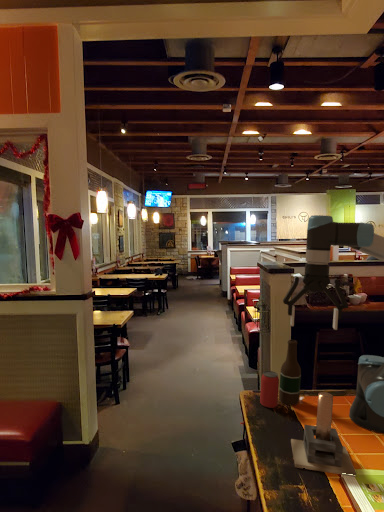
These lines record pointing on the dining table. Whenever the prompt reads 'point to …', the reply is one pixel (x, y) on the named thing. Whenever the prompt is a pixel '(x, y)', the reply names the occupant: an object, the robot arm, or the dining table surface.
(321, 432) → the copper tube
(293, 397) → the beer bottle
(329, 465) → the collar stand
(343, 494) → the dining table surface
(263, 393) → the beer can
